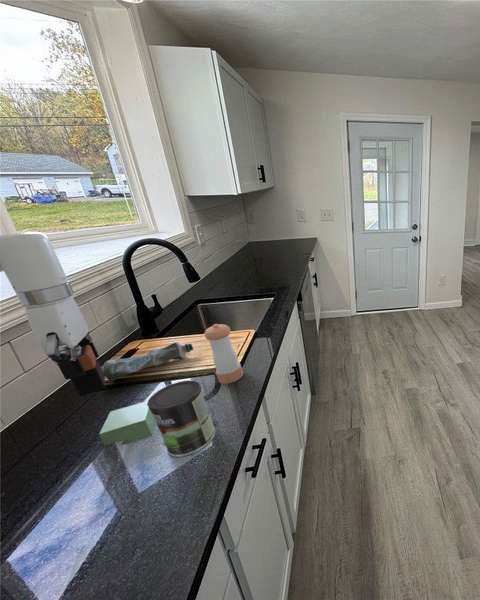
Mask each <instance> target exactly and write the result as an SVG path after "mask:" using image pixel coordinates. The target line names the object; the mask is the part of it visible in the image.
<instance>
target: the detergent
mask: <svg viewBox="0 0 480 600" xmlns="http://www.w3.org/2000/svg"><path fill="white" fill-rule="evenodd" d="M191 351H194V347H193V344H192V343H185V344H184V345H182V344H181V343H180V342H178V341H177V342H172V343H170V344H168V345H167V346H164V347H163V348H159V349H153V350H150V351H149V352H147V354H145V355H140V356H133V357H132V356H131V357H126V358H117V359H108V360H106V361H104V363H103V370H102V371H103V373H104V376H105V379H107V380H108V381H109V382H111V383H114V382H115V381H116V380H118V379H120V378H122V377H125V376H127V375H130V374H133V373H136V372H139V371H141V370H144V369H146V368H149V367H153V366H159V365H163V364H165V363H167V362H168V361H170V360H171V361H172V360H173V361H175V360H176V361H178V360H177V359H182V360H183V359H184V358H185V355H186V354H187V353H190V352H191Z"/></svg>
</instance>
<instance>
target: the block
mask: <svg viewBox="0 0 480 600" xmlns="http://www.w3.org/2000/svg"><path fill="white" fill-rule="evenodd" d="M147 403H148V400H145V401H143V402H138V403H136V404H135V403H134V404H132V405H129V406H125V407H122V408H118V409H114V410H111V411H110V412H109V413H108V415H107V418H105V422H104V424H103V426H102V427H101V429H100V431H99V433H98V435H99V437H100V439H101V441H102V443H103V444H104V446H105V447H106V446H108V445H112V444H115V443H118V442H121V446H124V445H127V444H129V443H133V442H135V441H138V440H142V439H145V438H148V437H151V436H153V434H154V430H153V429H155V426H156V423H155V419H154V417H153V415H152V412H151V410H150V409H149V407H148V405H147ZM154 425H155V426H154ZM144 437H145V438H144Z"/></svg>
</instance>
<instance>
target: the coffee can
mask: <svg viewBox="0 0 480 600" xmlns="http://www.w3.org/2000/svg"><path fill="white" fill-rule="evenodd" d="M147 401H148V403H147V405H148V407H149V409H150V410H151V412H152V415H153V417H154V419H155V422H156V423H155V425H156V426H157V429H158V430H159V433H160V436H161V438H162V441H163V443H164V445H165V448H166V450H167V453H168V454H169V455H170V456H171V457H175V458H183V457H187V456H190V455H194V454H196V453H198V452H199V451H201V450H203V449H204V448H206V447H207V446H208V445H209V444H210V443H211V442H212V441H213V439H214V438H215V436H216V432H217V431H216V428H215V426H214V423H213V420H212V417H211V414H210V411H209V409H208V406H207V403H206V400H205V397H204V394H203V390H202V387H201V383H200V382H199V381H196V380H182V381H178V382H175V383H172V384H170V385H167V386H164V387H163V388H161V389H159V390H158V391H156V392H155V393H154V394H152V395H151V396H150V397H149V399H148V400H147Z"/></svg>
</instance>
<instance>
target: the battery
mask: <svg viewBox="0 0 480 600" xmlns="http://www.w3.org/2000/svg"><path fill="white" fill-rule="evenodd" d="M74 352H75V358H76V359H77V358H79V360H80V362H81V364H82V366H83V368H84V370H85V372H86V374H85V375H84V376H80V377H76V378H72V379H70V381H71V383H72V385H73V387H74V389H75V391H76V393H77V394H78V396H79V397H84V396H87V395H90V394H93V393H95V392H98V391H101V390H104V389H105V387H106V384H105V383H106V377H105V376H104V373H103V371H104V370H103V369H102V367H101V365H100V363H99V361H98V358H96V357H95V355H94V353H93V350H92V348H91V346H90V345H86V346H82V347H80V345H76V346H75V347H74ZM64 353H65V354H67V355H68V350H67V351H64Z"/></svg>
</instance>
